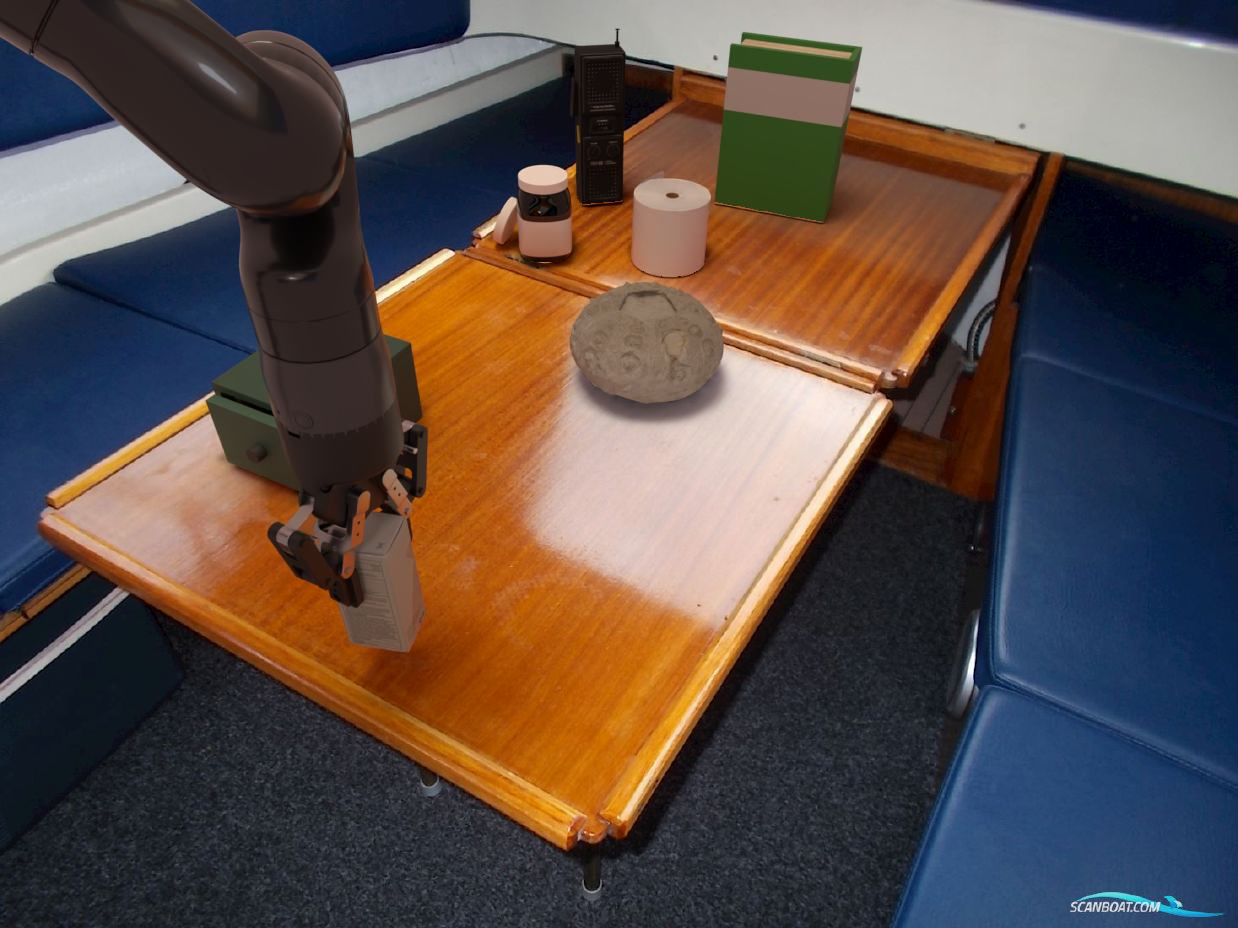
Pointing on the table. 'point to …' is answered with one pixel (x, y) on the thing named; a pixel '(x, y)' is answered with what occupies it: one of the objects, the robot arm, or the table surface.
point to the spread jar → (539, 215)
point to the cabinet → (251, 388)
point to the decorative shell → (647, 342)
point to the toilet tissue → (669, 226)
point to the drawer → (251, 439)
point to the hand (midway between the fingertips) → (374, 574)
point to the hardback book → (785, 124)
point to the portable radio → (599, 121)
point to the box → (385, 587)
